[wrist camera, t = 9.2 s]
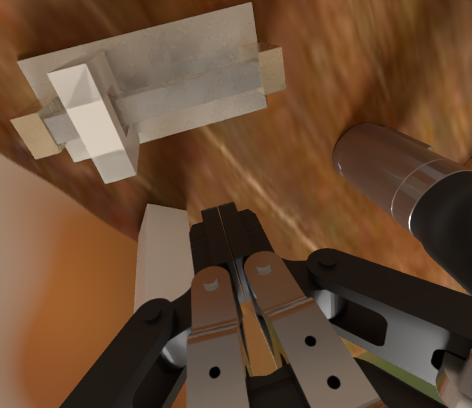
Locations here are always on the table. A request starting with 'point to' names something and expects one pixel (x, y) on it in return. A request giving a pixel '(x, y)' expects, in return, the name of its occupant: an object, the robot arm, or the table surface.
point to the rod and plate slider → (161, 79)
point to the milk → (163, 255)
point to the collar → (97, 115)
